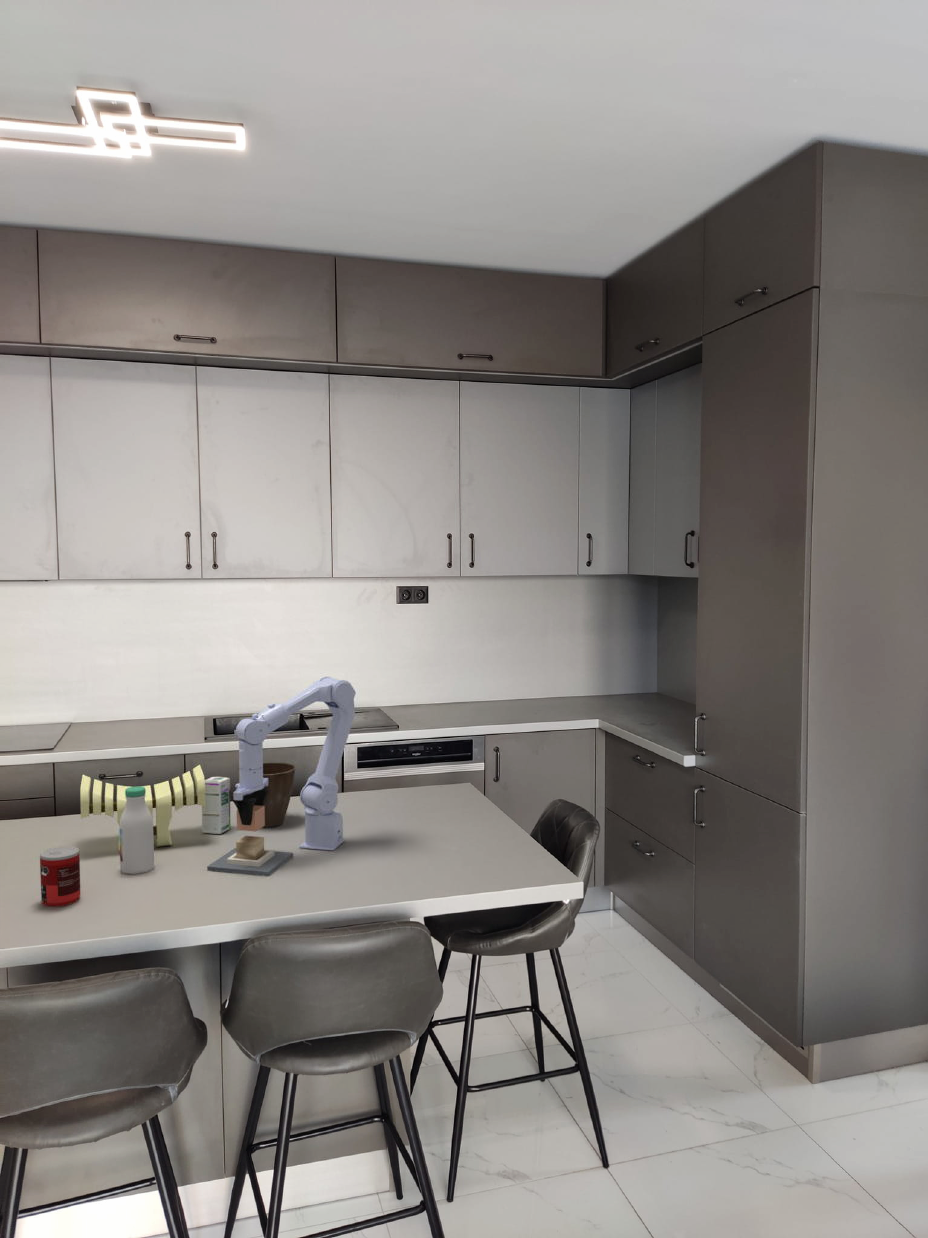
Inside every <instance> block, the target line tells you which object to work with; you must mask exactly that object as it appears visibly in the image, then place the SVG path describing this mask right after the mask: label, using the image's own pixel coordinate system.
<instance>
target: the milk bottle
mask: <svg viewBox="0 0 928 1238" xmlns="http://www.w3.org/2000/svg"><path fill="white" fill-rule="evenodd" d="M141 786H142V785H141ZM141 786H130V788H127V789H126V790H125V795H126V797H125V798H126V800H127V801H126V806H125V809H124V811H123V813H122V816H121V819H120V826H119V830H118V832H119V833H118V835H120V851H119V865H120V871H121V873H122V874H125V875H126V874H127V875H135V874H136V875H138V874H144V873H146V872H150V871H151V870H153V869H154V867H155V846H154V845H155V844H154V843H155V841H154V839H155V838H154V836H153V826H154V819H153V820H152V816H151V813H150V811H149V809H148V807H147V805H146V802H145V796H146V795H145V793H146V790H145V787H141Z"/></svg>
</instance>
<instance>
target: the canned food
mask: <svg viewBox="0 0 928 1238" xmlns="http://www.w3.org/2000/svg"><path fill="white" fill-rule="evenodd" d="M80 860H81V858H80V850H79V848H78V847H76V846H70V845H69V846H67V845H66V846H64V845H63V846H56V847H52V848H48V849H46V850H43V851H42V852H41V853H40V854H39V868H40V869H39V870H40V871H39V874H40V893H41V894H40V895H41V896H40V897H41V902H42V904H43V905H44V906H45V907H52V908H53V907H55V908H56V907H59V908H60V907H64V906H65V907H66V906H68V905H72V904H74V903H76V902H77V901H78V900H79V899H80V898H81V866H80V865H81V863H80V862H81V861H80Z"/></svg>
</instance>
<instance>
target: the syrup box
mask: <svg viewBox="0 0 928 1238" xmlns="http://www.w3.org/2000/svg"><path fill="white" fill-rule="evenodd" d="M204 780H205V804H206V806H201V819H202V820H201V830H202V831H201V832H202V833H205V834H214V835H215V834H216V835H221V834H222V833H225V832H226V831H228V830H230V829H231V778H230V777H225V776H211V777H209V778H207V779H204Z"/></svg>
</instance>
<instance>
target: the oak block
mask: <svg viewBox="0 0 928 1238" xmlns="http://www.w3.org/2000/svg"><path fill="white" fill-rule="evenodd" d="M235 848H236V858H237V859H249V860H258V859H260V858H261V857H262V856H264V850H265V837H264V836H252V835H245V836H243V837H241V838H240V839H238V840H237V841H236V842H235Z"/></svg>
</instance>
